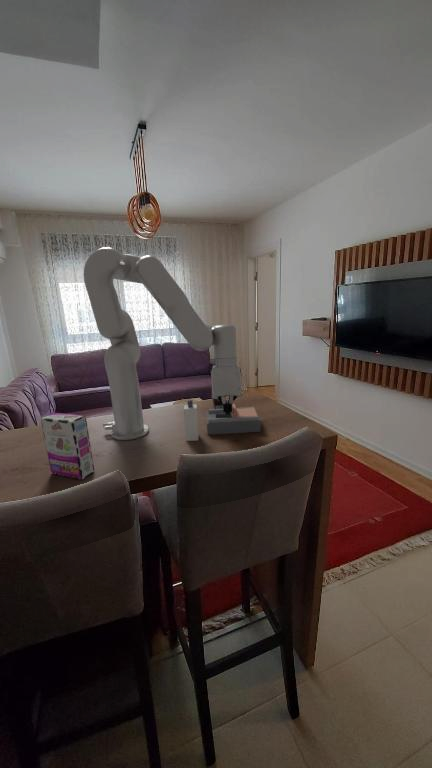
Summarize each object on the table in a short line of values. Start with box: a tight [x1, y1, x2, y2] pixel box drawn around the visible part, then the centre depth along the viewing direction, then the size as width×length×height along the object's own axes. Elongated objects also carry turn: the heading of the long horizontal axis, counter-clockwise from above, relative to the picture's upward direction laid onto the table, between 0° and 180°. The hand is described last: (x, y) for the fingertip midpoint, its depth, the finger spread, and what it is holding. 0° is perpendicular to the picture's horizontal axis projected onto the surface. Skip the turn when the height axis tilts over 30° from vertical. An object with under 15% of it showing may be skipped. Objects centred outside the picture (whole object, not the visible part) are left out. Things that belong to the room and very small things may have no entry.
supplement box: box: [210, 369, 223, 409], centre depth 129 cm, size 9×5×16 cm, turn 6°
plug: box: [183, 399, 200, 442], centre depth 103 cm, size 4×4×13 cm
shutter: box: [232, 403, 259, 417], centre depth 111 cm, size 8×8×3 cm
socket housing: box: [206, 406, 262, 435], centre depth 112 cm, size 18×11×5 cm, turn 92°
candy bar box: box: [40, 412, 95, 480], centre depth 85 cm, size 11×5×16 cm, turn 69°
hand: (227, 413), depth 111 cm, fingers closed
